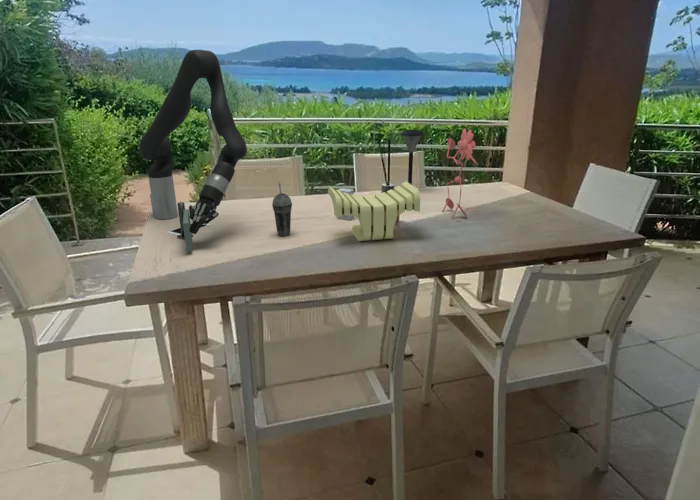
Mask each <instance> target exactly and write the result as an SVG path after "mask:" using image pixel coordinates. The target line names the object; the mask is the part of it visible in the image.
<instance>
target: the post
mask: <svg viewBox="0 0 700 500" xmlns="http://www.w3.org/2000/svg"><path fill="white" fill-rule="evenodd" d="M176 204H177V212H178V219H179V225H180V226H179V228H180V227H181V235H178V236H177V235H176V238H177V239H181V240H184V241H185V236H184V229H183V215H184V212H183V210H186V207H185V206H186V205H185V202H182V201H180V202H176ZM193 237H194V234H192V238H193Z"/></svg>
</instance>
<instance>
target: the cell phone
mask: <svg viewBox="0 0 700 500" xmlns="http://www.w3.org/2000/svg"><path fill="white" fill-rule="evenodd" d="M191 225H192V223H191ZM212 225H213V223H211V222H209V223H208V224H203V225H201V227H200V228H199V230H201V229H204V228H207V227H210V226H212ZM166 233H167V234H171V235H174V236H176V237H177V236H178V235H181V227H180V226H179V227H178V228H174V229H172V230H169V231H167V232H166Z"/></svg>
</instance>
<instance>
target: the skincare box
mask: <svg viewBox="0 0 700 500" xmlns="http://www.w3.org/2000/svg"><path fill="white" fill-rule="evenodd" d="M337 190H339V191H341V192H342V194H343V192H344V193H348V194H349V195H350V194H352V195H355V191H354V189H353V188H343V187H342V188H341V187H340V188H338V189H337ZM350 196H351V195H350ZM354 218H355V216H353V215H352V214H350V215H347V216H345V215H344V214H342V216H341V217H338V218H336V219H339V220H346V221H351V220H353V219H354Z"/></svg>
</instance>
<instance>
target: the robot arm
mask: <svg viewBox="0 0 700 500" xmlns="http://www.w3.org/2000/svg"><path fill="white" fill-rule="evenodd" d="M199 79H205V80H206V82H207V83H208V86H209V90H210V106H209V107H210V116H211V120H212V122H213V125H214V127H215V130H216V132H217V135H218V136H220V137H222V138H223V140H224V142H225V145H224V146H223V147H222V149H221V150H220V152H219V156H218V159H217V161H216V164H215V166H214V168H213V169H212V171H211V173H210V175H209V176H208V177H207V179H206V181H205V183H204V184H203V187H202V189H201V190H200V192H199V194H198V197H199V199H198V200H197V202H195V205H191V204H190V205H189V206H188V209H189V216H190V221H192V223H191V224H192V225H191V226H190V228H189V229H190V232H191V233H192V234H193V235H196V234H197V233H198V232H199V230H200V229H199V228H200V227H201V225H203V224H208V223H211V221H213V220H215V218H217V217H219V215H220V214H219V212H218V211H217V207H219V206H220V204H221V202H222V200H223V198H224V197H225V194H226V193H227V191H228V187H229V185H230V182H231V181H232V179H233V177H234V174H235V172H236V170H235V167H236V166H237V163H238V162H239V161H240V160H242V159H244V158H245V157H246V155H247V153H248V148H247V143H246V141H245V139H244V138H243V136H242V134H241V133H240V131H239V130H238V128H237V125H236V123H235V120H234V118H233V115H232V112H231V108H230V105H229V102H228V98H227V94H226V88H225V84H224V80H223V74H222V69H221V64H220V62H219V59H218V57H217V55H216V54H215V53H214V52H213V51H211V50H205V49H204V50H203V49H192V50H189V51H188V52H187V53H186V54H185V55H184V57H183V59H182V61H181V64H180V67H179V69H178V72H177V75H176V77H175V79H174V81H173V84H172V86H171V87H170V90H169V91H168V94H167V95H166V97H165V99H164V101H163V103H162V104H161V106H160V109H159V110H158V112H157V114H156V116H155V117H154V120H153V121H152V124H151V125H150V126H149V128H148V129H147V131H146V132H145V133H144V135H143V136H142V138H141V139H140V142H139V144H138V152H139V154H140V157H141V158H142V159H144V160H145V161H154V163H153V164H152V165H151V166H150V168H148V169H147V175H148V176H147V177H148V182H149V188H150V195H149V198H150V204H151V210H152V216H153V217H154V218H155V219H157V220H168V219H169V220H170V219H174V218H177V217H179V213H178V205H177V199H176V198H177V197H176V191H175V183H174V177H173V176H174V175H173V169H174V161H173V149H172V144H171V141H170V139H169V138H168V136H169V135H170V134H171V133H173V131H174V132H175V130H177V129H178V128H179V127H180V126H181V125H182V124H183V123H184V122H185V121H186V118H187V117H188V115H189V114H190V112H191V109H192V96H191V93H192V90H193V88H194V86H195V84H196V83H197V81H198V80H199Z"/></svg>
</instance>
